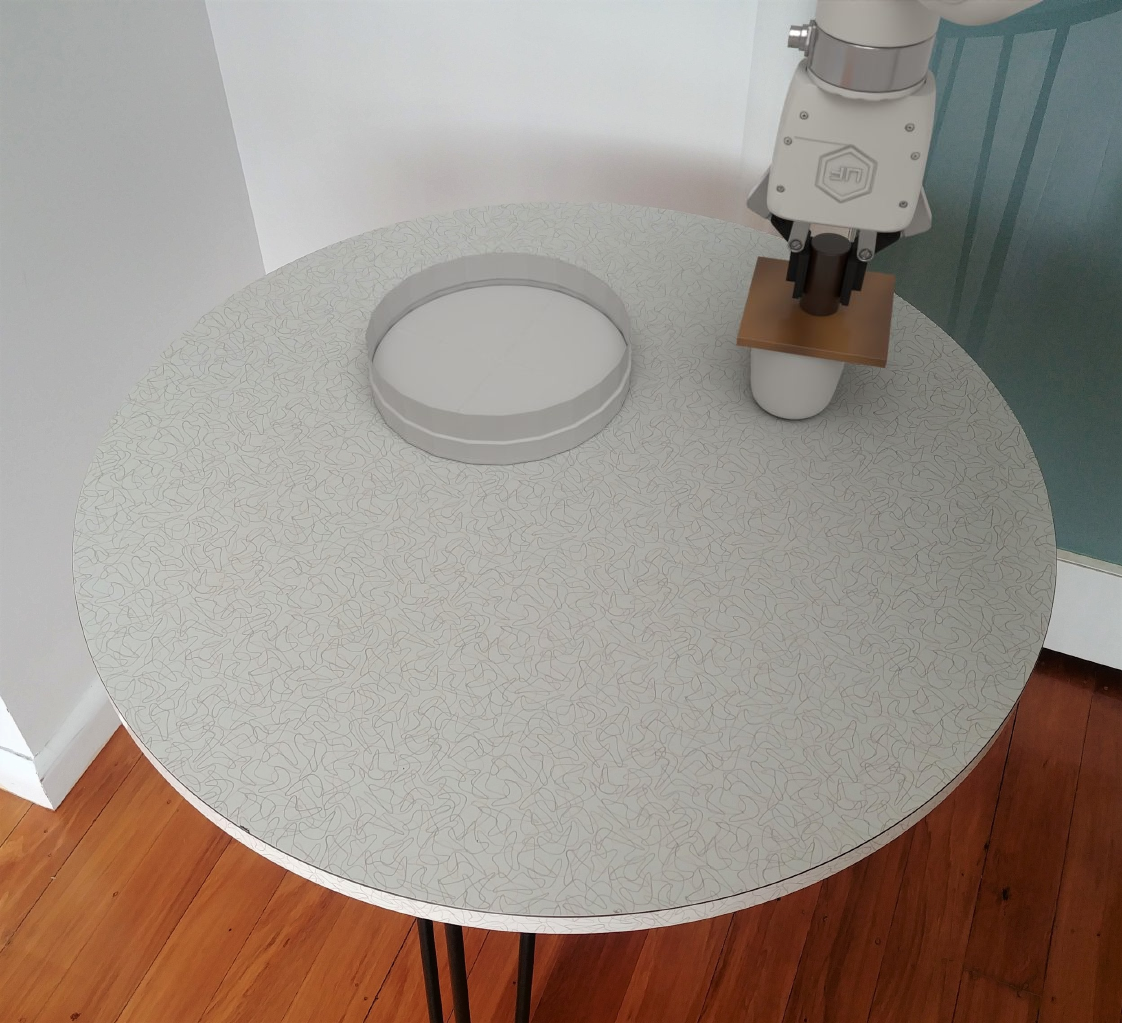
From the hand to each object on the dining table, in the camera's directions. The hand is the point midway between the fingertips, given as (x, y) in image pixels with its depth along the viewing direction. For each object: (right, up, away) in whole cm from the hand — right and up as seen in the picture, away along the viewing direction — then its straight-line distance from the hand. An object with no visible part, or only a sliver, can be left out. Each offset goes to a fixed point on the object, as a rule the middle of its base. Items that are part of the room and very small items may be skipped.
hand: (822, 290), depth 81 cm
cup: (0, -7, +8) cm, 10 cm away
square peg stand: (0, -1, +2) cm, 2 cm away
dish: (-25, -5, +10) cm, 27 cm away
